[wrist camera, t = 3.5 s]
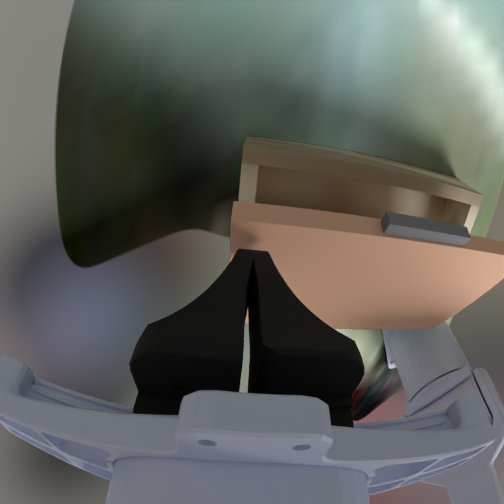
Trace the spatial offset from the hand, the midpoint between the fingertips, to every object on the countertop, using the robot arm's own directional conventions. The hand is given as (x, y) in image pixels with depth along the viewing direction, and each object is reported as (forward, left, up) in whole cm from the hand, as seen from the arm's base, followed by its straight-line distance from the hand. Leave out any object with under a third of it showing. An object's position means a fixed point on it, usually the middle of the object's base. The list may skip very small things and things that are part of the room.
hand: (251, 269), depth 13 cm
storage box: (-6, -6, -10) cm, 13 cm away
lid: (-6, -6, -3) cm, 9 cm away
